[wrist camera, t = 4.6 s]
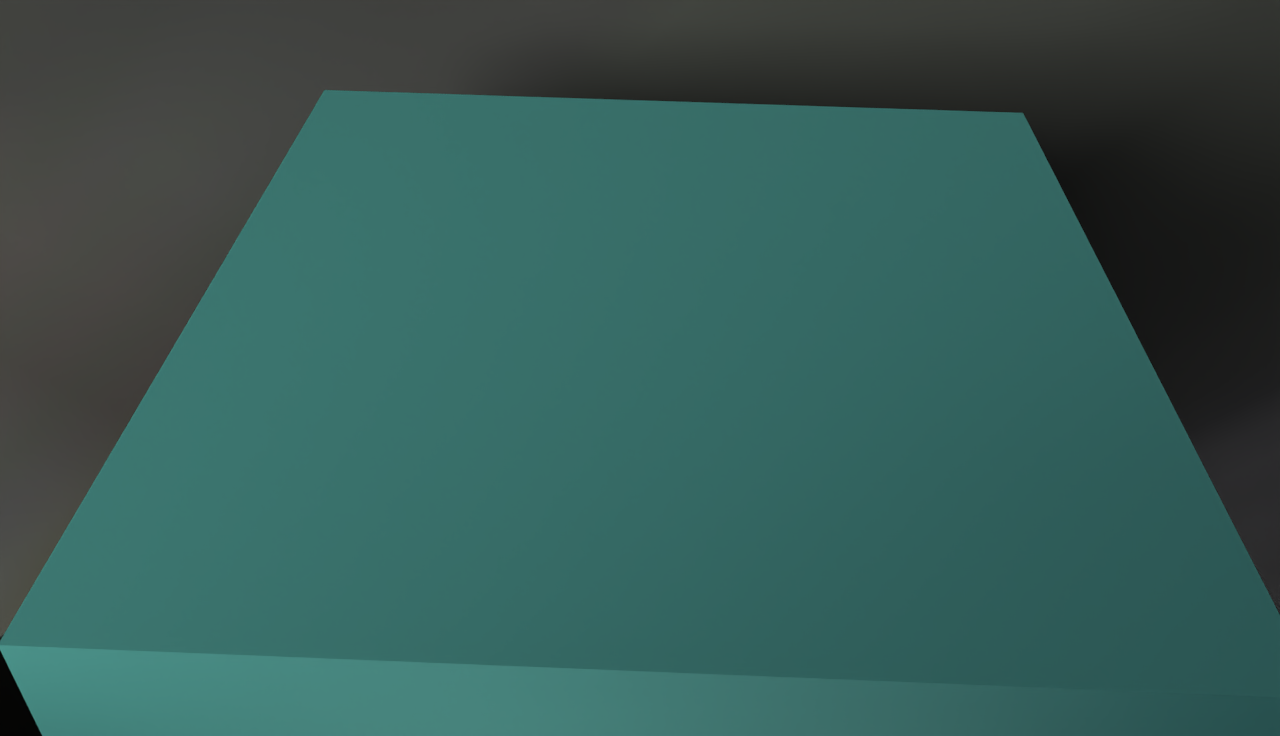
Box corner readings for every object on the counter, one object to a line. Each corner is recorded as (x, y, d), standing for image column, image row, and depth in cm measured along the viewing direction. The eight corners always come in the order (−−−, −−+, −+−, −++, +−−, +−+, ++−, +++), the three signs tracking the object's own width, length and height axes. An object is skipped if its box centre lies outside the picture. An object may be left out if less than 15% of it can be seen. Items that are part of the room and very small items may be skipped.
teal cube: (1023, 113, 8) (1322, 699, 4) (910, 587, 11) (1027, 1185, 7) (324, 91, 8) (-4, 646, 4) (399, 566, 11) (245, 1148, 8)
